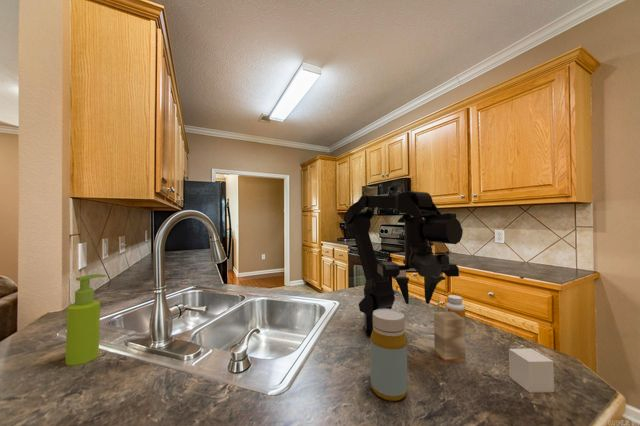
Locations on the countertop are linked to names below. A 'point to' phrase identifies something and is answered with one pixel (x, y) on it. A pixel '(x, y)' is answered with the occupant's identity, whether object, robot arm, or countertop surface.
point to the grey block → (531, 370)
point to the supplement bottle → (455, 305)
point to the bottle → (389, 355)
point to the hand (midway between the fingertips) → (417, 303)
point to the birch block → (449, 336)
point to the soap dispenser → (83, 324)
